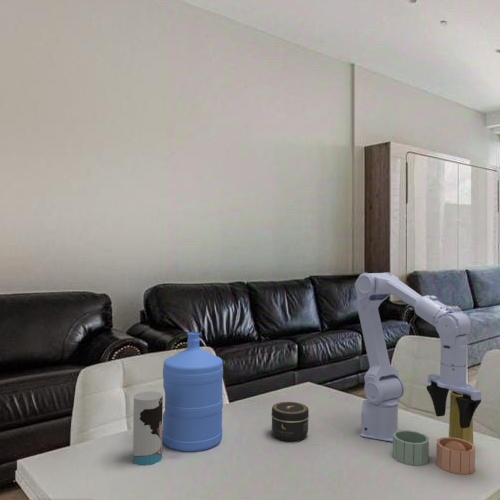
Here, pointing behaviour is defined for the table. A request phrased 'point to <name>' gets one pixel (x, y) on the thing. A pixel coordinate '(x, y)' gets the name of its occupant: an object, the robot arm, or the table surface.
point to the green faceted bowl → (410, 447)
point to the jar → (290, 421)
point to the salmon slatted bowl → (455, 456)
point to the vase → (458, 421)
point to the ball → (455, 446)
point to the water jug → (192, 398)
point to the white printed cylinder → (147, 428)
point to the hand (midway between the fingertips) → (452, 421)
